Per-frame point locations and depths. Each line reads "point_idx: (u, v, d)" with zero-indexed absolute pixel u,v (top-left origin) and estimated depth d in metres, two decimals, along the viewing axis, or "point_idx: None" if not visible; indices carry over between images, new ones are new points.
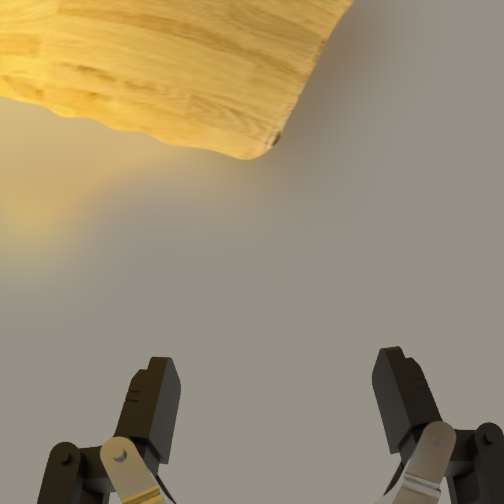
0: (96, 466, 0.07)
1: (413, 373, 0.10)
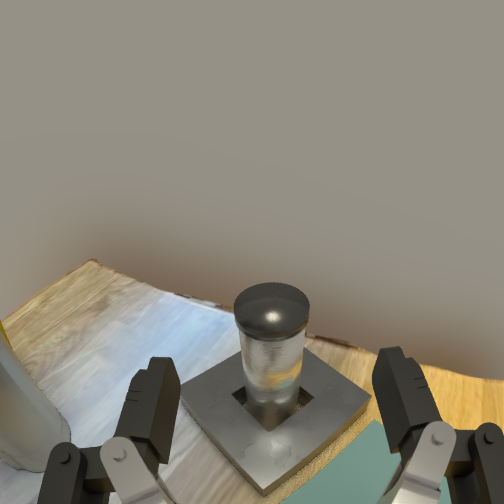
0: (96, 466, 0.07)
1: (413, 373, 0.10)
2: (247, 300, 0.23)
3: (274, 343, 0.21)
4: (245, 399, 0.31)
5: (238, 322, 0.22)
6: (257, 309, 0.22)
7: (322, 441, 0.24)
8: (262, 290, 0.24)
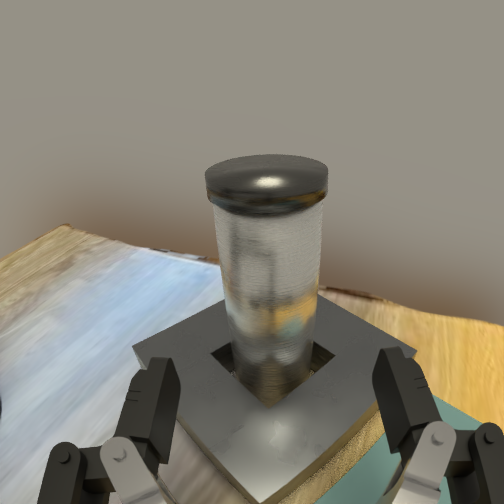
0: (96, 466, 0.07)
1: (413, 373, 0.10)
2: (227, 167, 0.14)
3: (272, 219, 0.12)
4: (233, 366, 0.22)
5: (211, 188, 0.13)
6: (243, 172, 0.13)
7: (354, 420, 0.15)
8: (251, 159, 0.15)
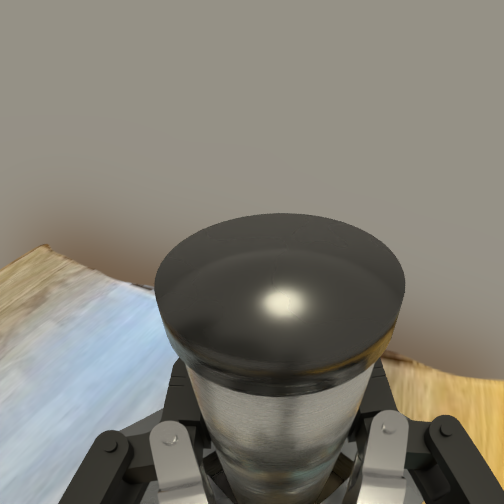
0: (143, 461, 0.08)
1: None
2: (202, 254, 0.07)
3: (293, 398, 0.05)
4: None
5: (164, 321, 0.06)
6: (233, 278, 0.06)
7: None
8: (249, 228, 0.08)
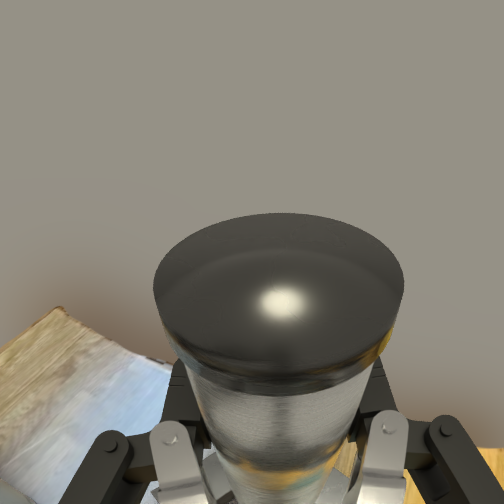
0: (142, 460, 0.08)
1: None
2: (201, 254, 0.07)
3: (292, 398, 0.05)
4: (231, 498, 0.23)
5: (162, 321, 0.06)
6: (231, 278, 0.06)
7: None
8: (248, 228, 0.08)
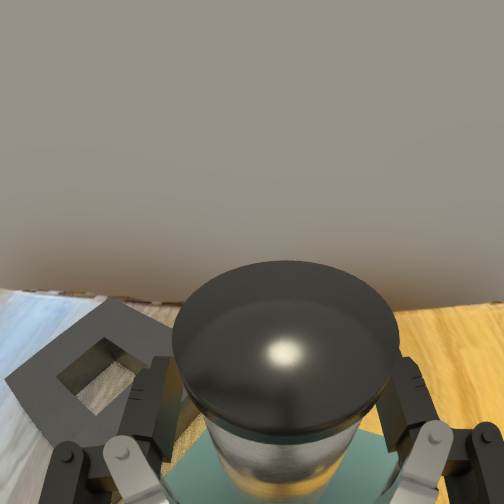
0: (99, 465, 0.07)
1: (410, 372, 0.10)
2: (214, 309, 0.08)
3: (296, 443, 0.06)
4: (81, 384, 0.23)
5: (182, 379, 0.06)
6: (244, 339, 0.07)
7: None
8: (257, 279, 0.09)
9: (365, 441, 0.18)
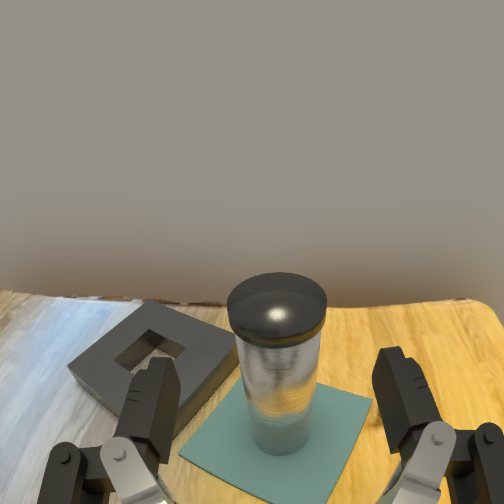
0: (96, 466, 0.07)
1: (413, 373, 0.10)
2: (244, 295, 0.18)
3: (281, 350, 0.16)
4: (130, 366, 0.32)
5: (233, 324, 0.16)
6: (258, 306, 0.17)
7: (200, 383, 0.27)
8: (263, 282, 0.19)
9: (343, 397, 0.27)
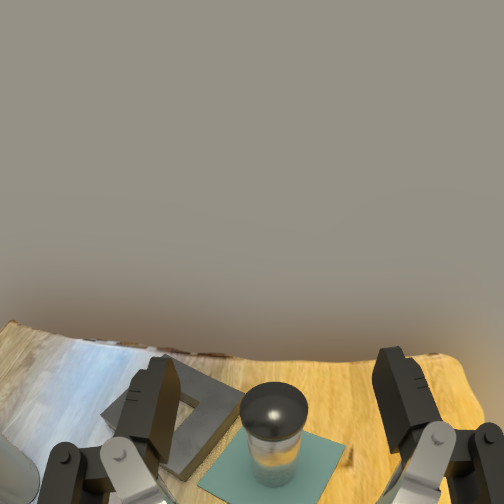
0: (96, 466, 0.07)
1: (413, 373, 0.10)
2: (251, 403, 0.23)
3: (276, 441, 0.21)
4: None
5: (244, 425, 0.22)
6: (261, 413, 0.23)
7: (212, 433, 0.33)
8: (265, 390, 0.24)
9: (322, 443, 0.33)
